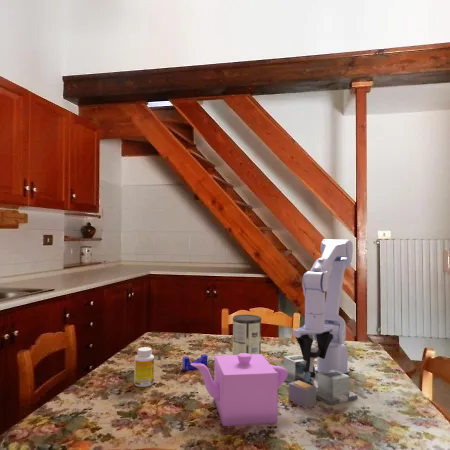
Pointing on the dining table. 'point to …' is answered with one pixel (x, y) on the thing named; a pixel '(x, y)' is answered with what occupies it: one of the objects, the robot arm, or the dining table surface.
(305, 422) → the dining table surface
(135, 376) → the supplement bottle
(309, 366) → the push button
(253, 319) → the coffee can
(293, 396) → the block
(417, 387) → the dining table surface
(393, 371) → the dining table surface
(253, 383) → the teapot
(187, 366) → the cable holder
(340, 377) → the rail plate
